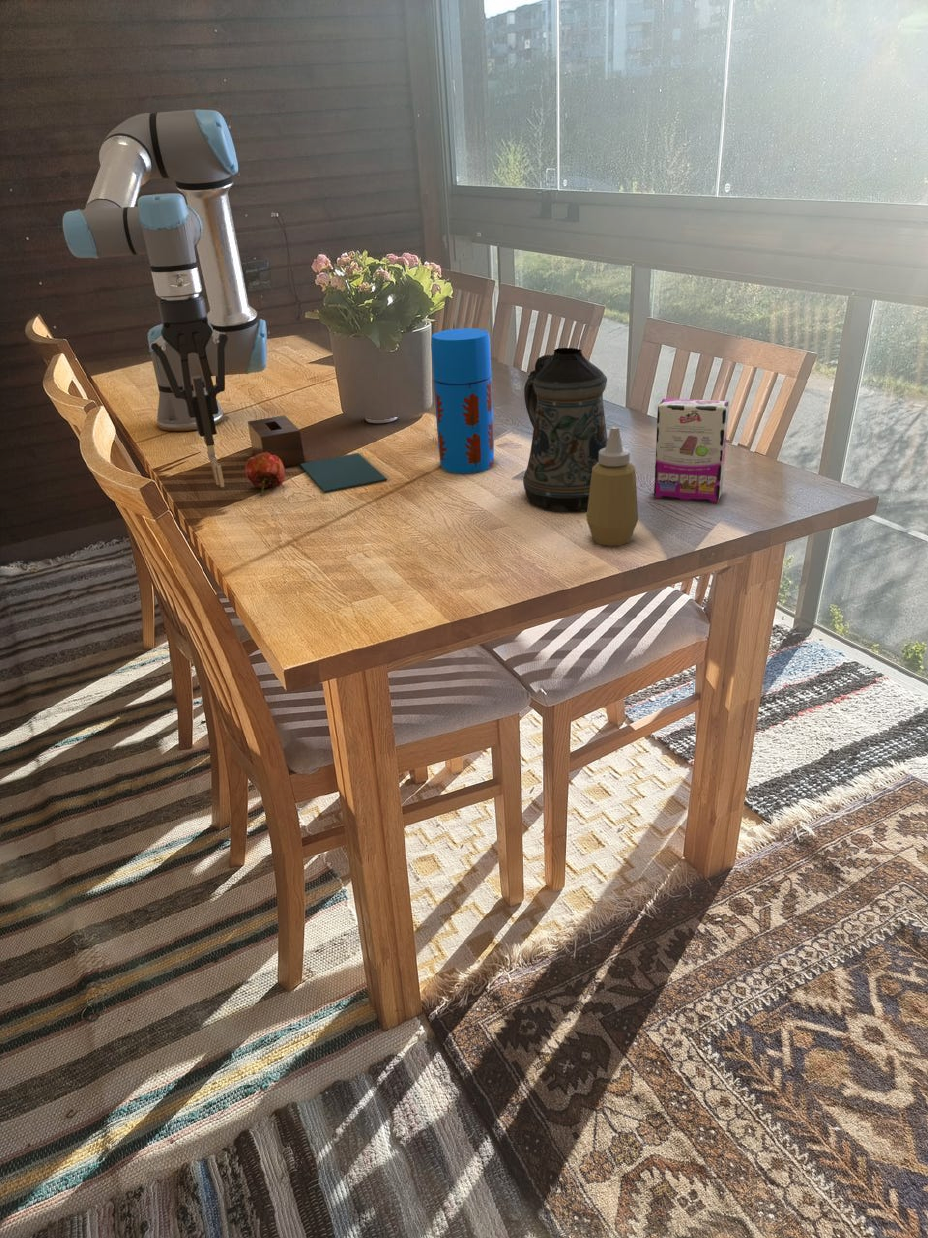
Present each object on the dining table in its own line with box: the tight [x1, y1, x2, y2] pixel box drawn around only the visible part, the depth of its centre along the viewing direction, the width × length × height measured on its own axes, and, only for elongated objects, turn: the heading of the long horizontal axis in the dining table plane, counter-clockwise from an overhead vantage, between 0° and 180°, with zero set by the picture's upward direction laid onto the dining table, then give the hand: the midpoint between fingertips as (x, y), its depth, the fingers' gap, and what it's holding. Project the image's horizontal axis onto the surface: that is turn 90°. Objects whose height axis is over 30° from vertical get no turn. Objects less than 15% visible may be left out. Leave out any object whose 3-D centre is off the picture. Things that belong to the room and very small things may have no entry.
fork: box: [191, 375, 226, 488], centre depth 159 cm, size 6×2×20 cm, turn 24°
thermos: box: [430, 327, 495, 475], centre depth 168 cm, size 11×11×25 cm
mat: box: [299, 452, 388, 494], centre depth 174 cm, size 18×12×1 cm
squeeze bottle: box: [586, 426, 639, 547], centre depth 135 cm, size 8×8×18 cm
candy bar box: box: [653, 398, 730, 503], centre depth 149 cm, size 11×5×16 cm, turn 69°
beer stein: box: [522, 347, 609, 513], centre depth 151 cm, size 16×19×25 cm
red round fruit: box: [244, 450, 286, 497], centre depth 166 cm, size 7×7×10 cm
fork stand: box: [247, 414, 306, 469], centre depth 182 cm, size 13×8×7 cm, turn 24°
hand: (207, 433), depth 159 cm, fingers closed on fork, 1 cm apart
